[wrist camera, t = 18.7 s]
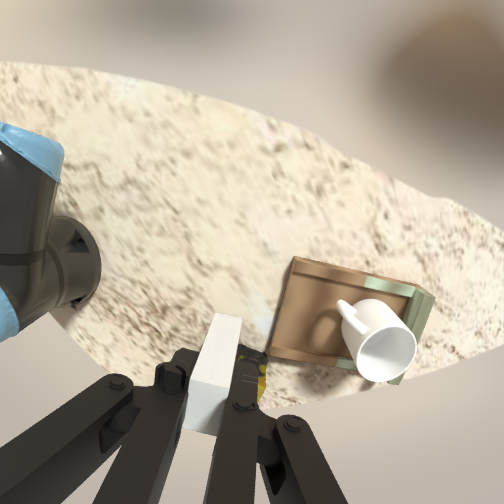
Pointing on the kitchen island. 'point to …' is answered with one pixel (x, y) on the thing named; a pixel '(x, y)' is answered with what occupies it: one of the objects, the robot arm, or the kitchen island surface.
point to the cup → (376, 339)
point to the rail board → (329, 318)
